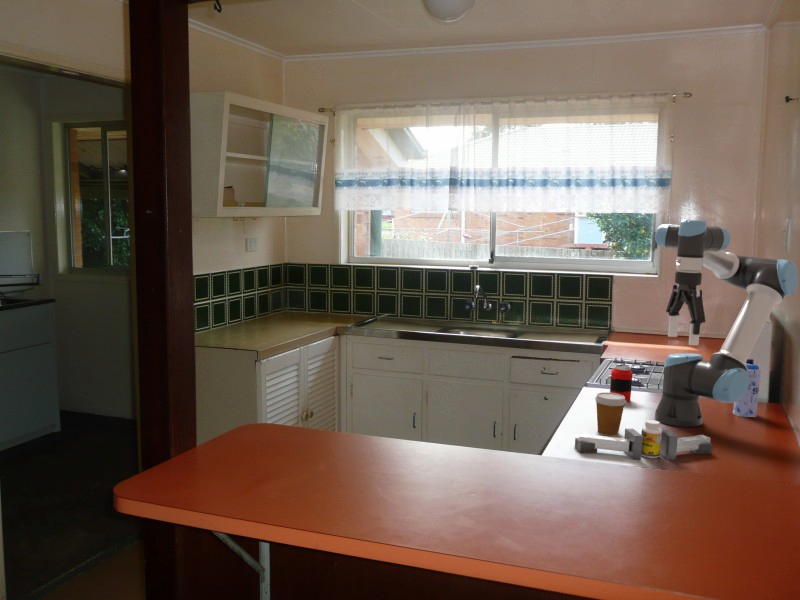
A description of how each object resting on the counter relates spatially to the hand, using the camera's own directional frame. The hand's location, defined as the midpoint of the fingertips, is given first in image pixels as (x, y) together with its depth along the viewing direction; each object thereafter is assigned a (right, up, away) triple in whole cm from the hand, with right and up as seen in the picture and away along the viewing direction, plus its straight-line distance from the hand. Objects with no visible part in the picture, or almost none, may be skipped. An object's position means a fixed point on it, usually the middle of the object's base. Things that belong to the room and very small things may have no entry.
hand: (682, 340), depth 234 cm
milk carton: (+36, -28, +39) cm, 60 cm away
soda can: (-4, -25, +52) cm, 58 cm away
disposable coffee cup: (-20, -30, +10) cm, 37 cm away
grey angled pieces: (-14, -33, -9) cm, 37 cm away
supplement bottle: (-14, -33, -11) cm, 37 cm away
